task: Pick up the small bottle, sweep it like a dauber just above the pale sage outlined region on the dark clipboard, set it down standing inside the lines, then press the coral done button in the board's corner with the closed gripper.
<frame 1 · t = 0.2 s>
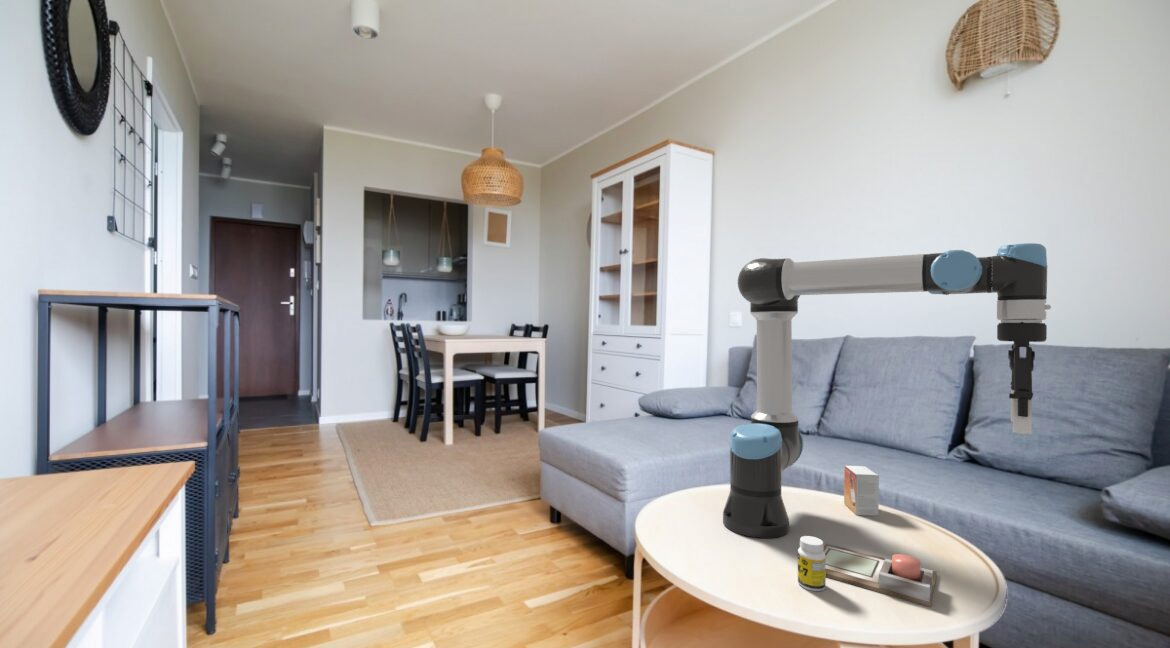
hand: (1020, 427, 102), 28 cm above the table, fingers open, 13 cm apart
supplement bottle: (811, 586, 94), on the table
board: (871, 573, 99), on the table
button: (906, 567, 92), point 4 cm above the table, slide at 0.0 cm
small box: (860, 510, 132), on the table
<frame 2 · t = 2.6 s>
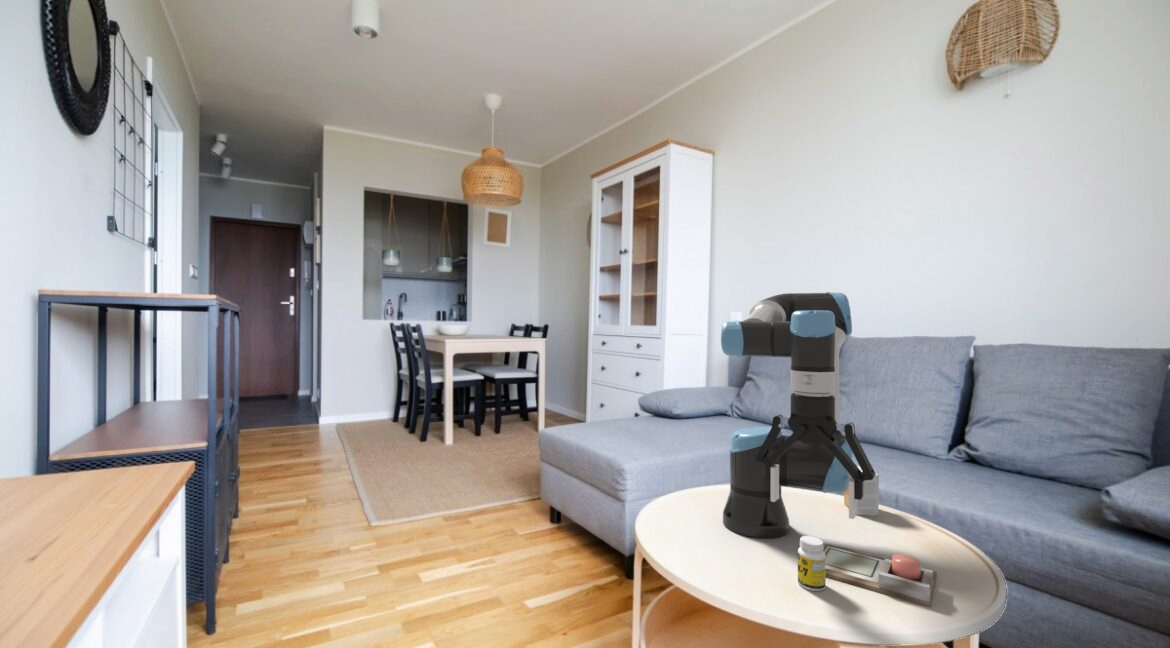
hand: (812, 507, 94), 14 cm above the table, fingers open, 13 cm apart
nothing on the table moved.
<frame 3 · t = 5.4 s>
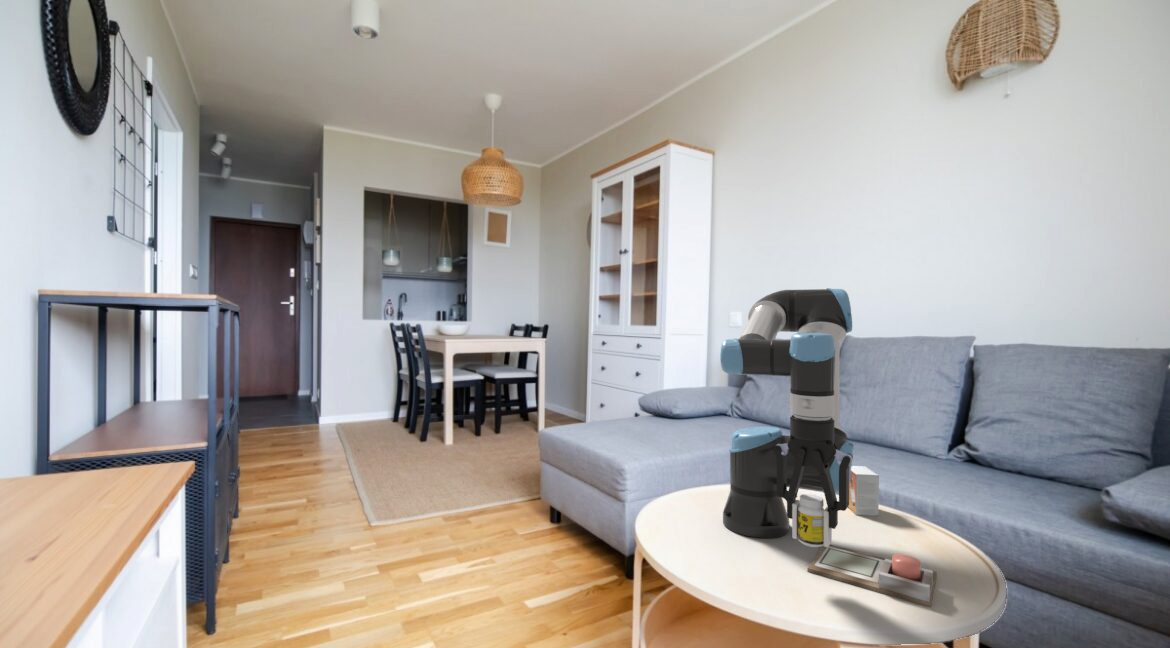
hand: (811, 539, 95), 8 cm above the table, fingers closed on supplement bottle, 5 cm apart
supplement bottle: (811, 543, 95), point 8 cm above the table, touching gripper
everything else where it was.
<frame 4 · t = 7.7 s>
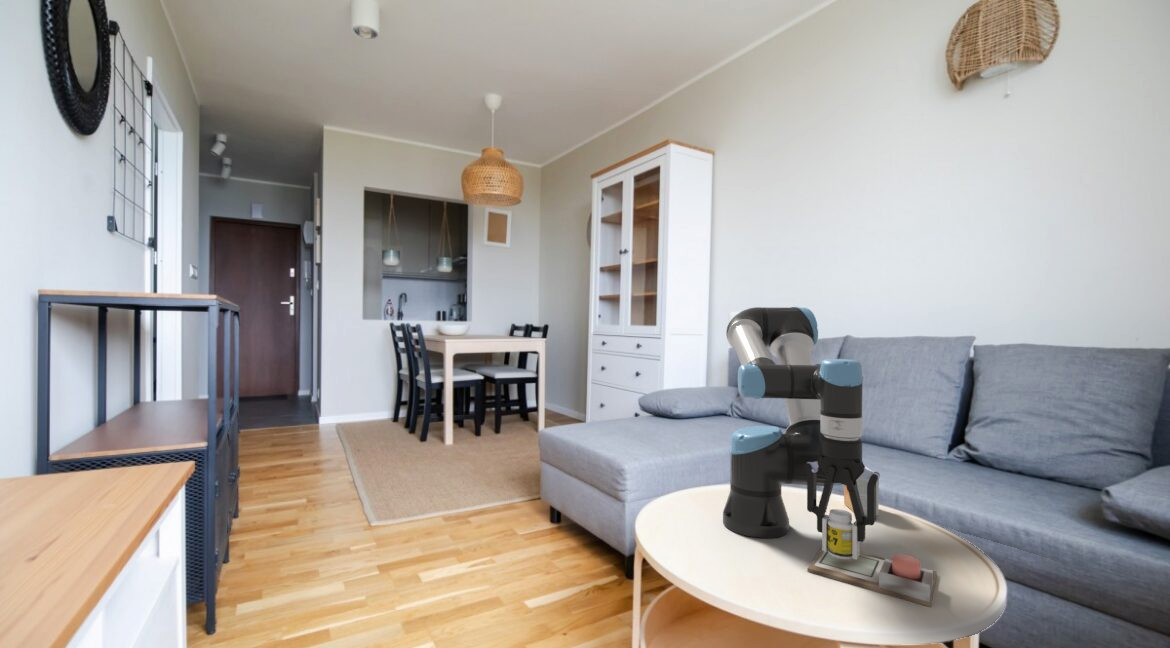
hand: (840, 552, 101), 3 cm above the table, fingers closed on supplement bottle, 5 cm apart
supplement bottle: (840, 555, 101), point 2 cm above the table, touching gripper
everything else where it was.
when the fingers open (1 cm above the table, at t = 10.0 s): supplement bottle stays where it is, resting on board.
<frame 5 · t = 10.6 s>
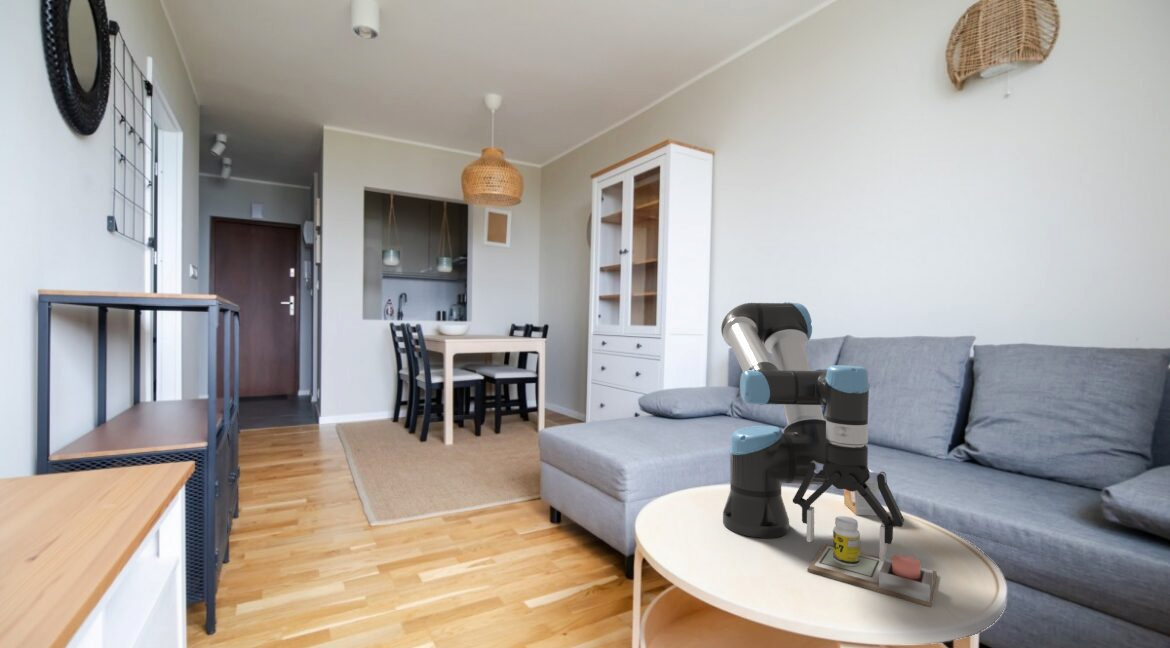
hand: (845, 548, 102), 3 cm above the table, fingers open, 12 cm apart
supplement bottle: (846, 562, 102), point 1 cm above the table, touching board
everything else where it was.
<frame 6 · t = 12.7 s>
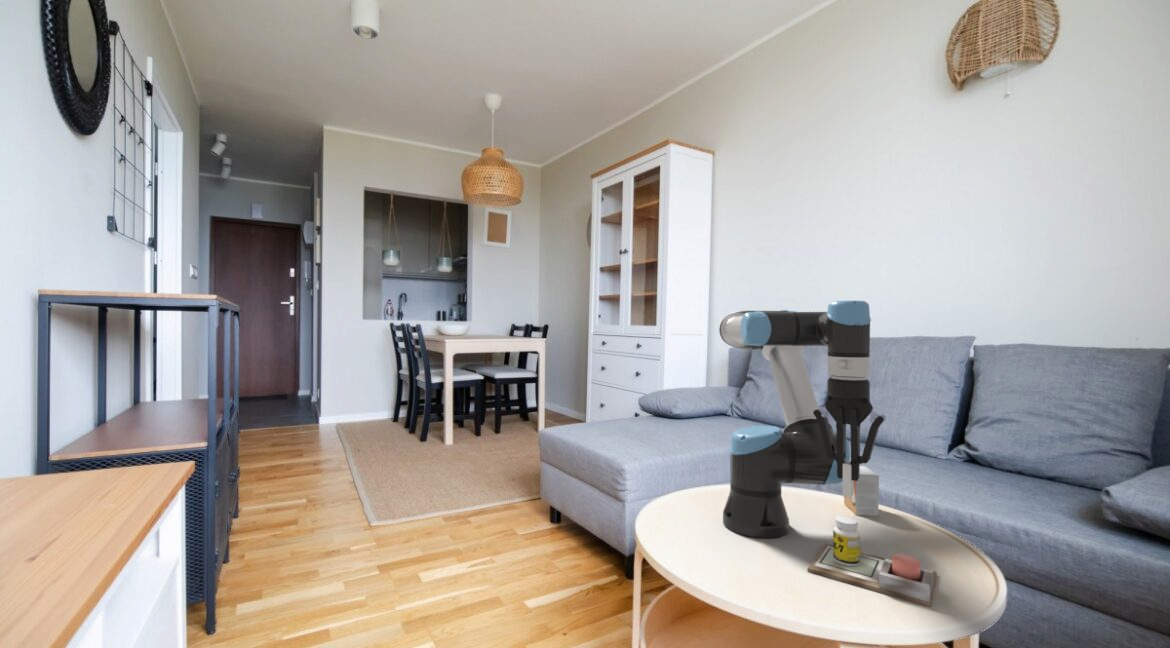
hand: (848, 495, 101), 14 cm above the table, fingers closed
nothing on the table moved.
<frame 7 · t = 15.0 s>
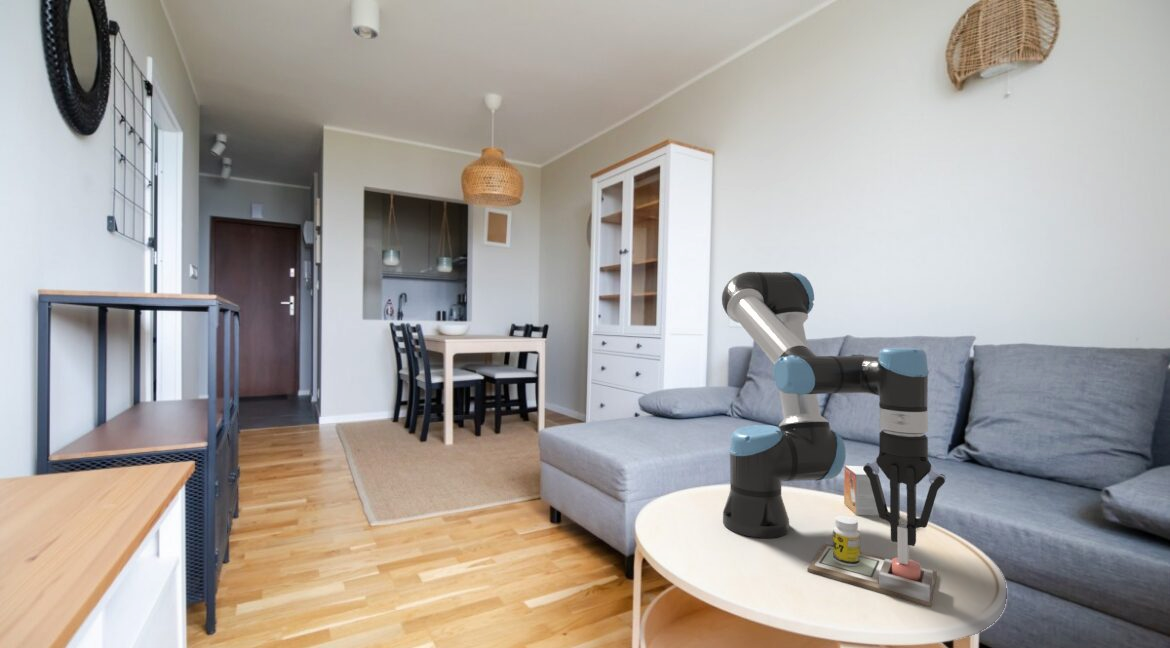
hand: (903, 560, 93), 5 cm above the table, fingers closed
button: (906, 571, 92), point 3 cm above the table, slide at 0.6 cm, touching gripper
everything else where it was.
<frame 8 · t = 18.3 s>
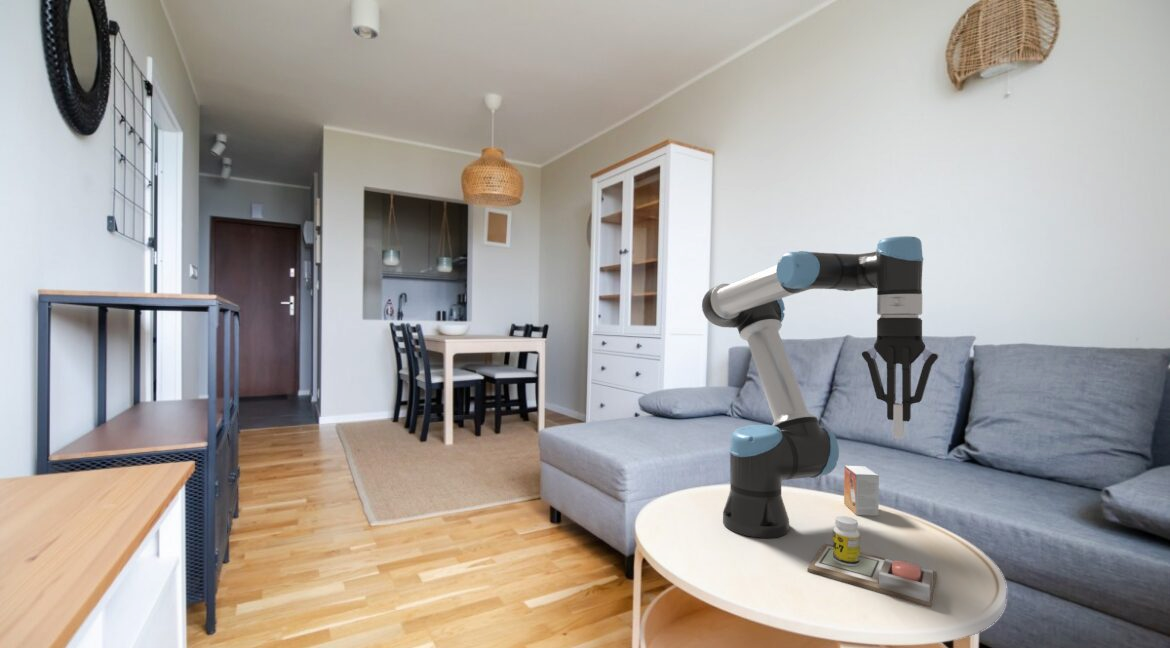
hand: (898, 437, 99), 26 cm above the table, fingers closed
button: (906, 574, 92), point 3 cm above the table, slide at 1.2 cm
everything else where it was.
at the end: supplement bottle inside the target area (0.5 cm from its centre), point 0.7 cm above the table; supplement bottle tilted 0°; button slide at 1.2 cm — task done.
